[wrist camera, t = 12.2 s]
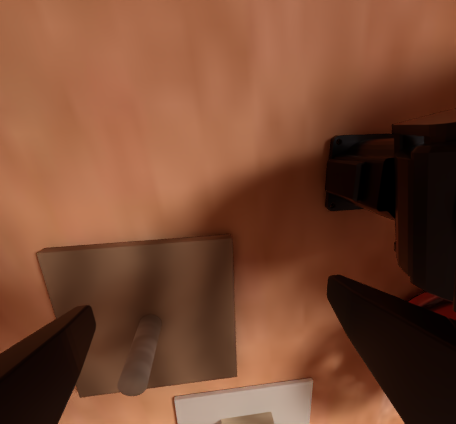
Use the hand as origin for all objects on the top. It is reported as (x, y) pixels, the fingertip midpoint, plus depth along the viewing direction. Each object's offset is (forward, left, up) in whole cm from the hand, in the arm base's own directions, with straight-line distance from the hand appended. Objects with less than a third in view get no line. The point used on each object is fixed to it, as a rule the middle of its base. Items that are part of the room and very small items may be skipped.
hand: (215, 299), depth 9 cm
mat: (-3, +28, -12) cm, 31 cm away
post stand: (+6, +10, -12) cm, 17 cm away
